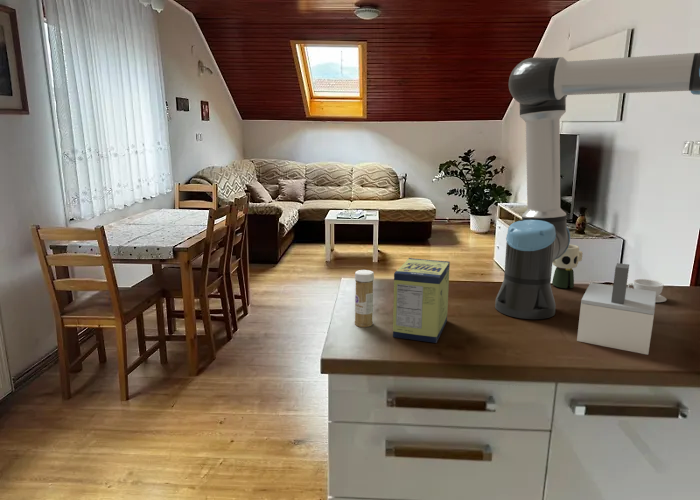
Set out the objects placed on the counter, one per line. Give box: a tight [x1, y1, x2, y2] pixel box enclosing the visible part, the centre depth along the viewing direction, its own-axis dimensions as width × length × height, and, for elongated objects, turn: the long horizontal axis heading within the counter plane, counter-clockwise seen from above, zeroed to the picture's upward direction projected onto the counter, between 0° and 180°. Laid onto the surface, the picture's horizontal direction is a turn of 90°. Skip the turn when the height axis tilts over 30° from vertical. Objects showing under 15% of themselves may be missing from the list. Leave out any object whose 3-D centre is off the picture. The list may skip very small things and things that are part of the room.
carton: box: [576, 302, 655, 355], centre depth 115 cm, size 14×16×9 cm
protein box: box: [392, 257, 451, 344], centre depth 119 cm, size 10×16×16 cm
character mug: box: [551, 243, 584, 289], centre depth 153 cm, size 11×7×13 cm, turn 100°
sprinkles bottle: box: [354, 269, 375, 328], centre depth 121 cm, size 5×5×13 cm
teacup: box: [627, 278, 668, 303], centre depth 144 cm, size 10×10×5 cm
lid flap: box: [580, 262, 656, 316], centre depth 113 cm, size 16×14×9 cm
